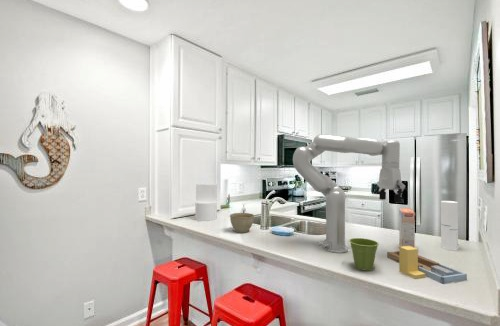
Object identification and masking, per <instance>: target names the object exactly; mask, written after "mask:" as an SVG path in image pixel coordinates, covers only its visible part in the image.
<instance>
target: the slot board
mask: <svg viewBox="0 0 500 326" xmlns="http://www.w3.org/2000/svg"><path fill="white" fill-rule="evenodd" d="M386 256H387V257H386V258H388V259H389V260H391V261H394V262H395V263H398V264H399V250H395V251H387V253H386ZM439 264H440V263H439V262H436V261H434V260H432V259H429V258H427V257H425V256H422V255H419V254H418V267H421V268H424V269H426V270H428V271H431V266H436V265H437V266H439Z"/></svg>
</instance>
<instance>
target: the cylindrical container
mask: <svg viewBox="0 0 500 326" xmlns="http://www.w3.org/2000/svg"><path fill="white" fill-rule="evenodd" d="M440 248H441V249H443V250H447V251H455V252H456V251H458V250H459V202H458V201H453V200H441V201H440Z"/></svg>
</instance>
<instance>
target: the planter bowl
mask: <svg viewBox="0 0 500 326" xmlns="http://www.w3.org/2000/svg"><path fill="white" fill-rule="evenodd" d="M229 217H230V224H231V226H232V228H233V229H234V232H236V233H241V234H242V233H248V232H249V231H250V229H251V228H252V225H253V223H254V220H255V218H254V217H255V215H254V214H253V213H250V212H249V213H248V212H235V213H231V214H230V215H229Z"/></svg>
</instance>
